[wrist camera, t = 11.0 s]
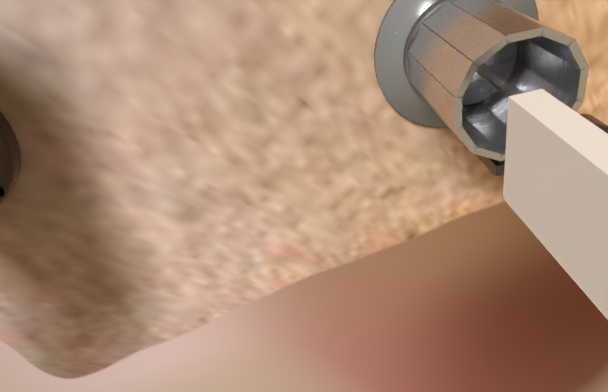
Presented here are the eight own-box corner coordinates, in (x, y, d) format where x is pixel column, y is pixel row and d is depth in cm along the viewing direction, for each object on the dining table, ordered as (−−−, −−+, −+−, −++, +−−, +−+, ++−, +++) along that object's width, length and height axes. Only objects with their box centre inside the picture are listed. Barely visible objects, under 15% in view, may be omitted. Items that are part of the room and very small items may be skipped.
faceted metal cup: (407, 131, 52) (452, 193, 43) (399, 5, 45) (451, 45, 35) (508, 108, 53) (576, 164, 43) (515, -21, 46) (599, 11, 36)
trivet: (381, 138, 53) (383, 142, 53) (365, -21, 44) (368, -19, 44) (528, 105, 54) (532, 108, 53) (541, -60, 45) (546, -59, 44)
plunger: (429, 109, 48) (531, 227, 33) (425, 25, 44) (542, 115, 28) (510, 91, 48) (650, 199, 33) (515, 5, 44) (680, 84, 28)
